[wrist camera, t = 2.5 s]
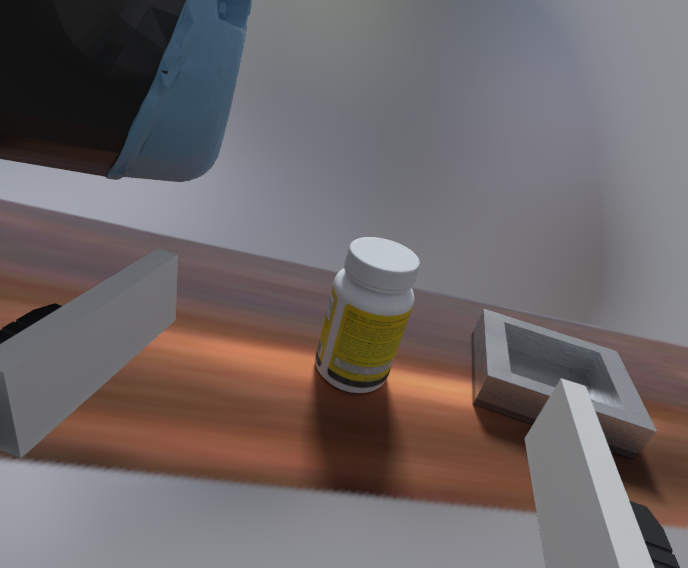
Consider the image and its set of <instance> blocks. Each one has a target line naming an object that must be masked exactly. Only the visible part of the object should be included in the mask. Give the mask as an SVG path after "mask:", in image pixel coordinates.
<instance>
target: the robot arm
mask: <svg viewBox="0 0 688 568" xmlns="http://www.w3.org/2000/svg"><path fill="white" fill-rule="evenodd" d="M251 5H252V0H0V159H5V160H11V161H16V162H22V163H28V164H35V165H40V166H46V167H52V168H58V169H64V170H70V171H76V172H81V173H87V174H94V175H99V176H105V177H106V178H108V179H115V180H117V179H121V178H122V177H131V178H142V179H153V180H163V181H174V182H184V181H190V180H192V179H195V178H198V177H200V176H202V175H204V174H205V173H206V172H207V171H208V170H209V169H211V167H212V166H213V165H214V163H215V161H216V159H217V157H218V154H219V152H220V148H221V145H222V141H223V138H224V133H225V129H226V125H227V121H228V117H229V113H230V108H231V104H232V100H233V94H234V89H235V86H236V81H237V76H238V72H239V67H240V62H241V57H242V52H243V46H244V42H245V36H246V30H247V20H248V16H249V15H250V10H251ZM177 269H178V255H177V254H174V253H171V252H168V251H165V250H161V249H156V250H154V251H153V252H151V253H149V254H148V255H146V256H144V257H143V258H141V259H140V260H138V261H136V262H135V263H133V264H131V265H130V266H128V267H126V268H125V269H123V270H121V271H120V272H118V273H117V274H115V275H113V276H112V277H110V278H108V279H107V280H105V281H103V282H102V283H100V284H98V285H97V286H95V287H93V288H92V289H90V290H89V291H87V292H85V293H84V294H82V295H80V296H79V297H77V298H75V299H74V300H72V301H70V302H69V303H67V304H66V305H64V306H61V305H58V304H55V303H54V304H51V305H48V306H44V307H41V308H38V309H35V310H32V311H31V312H29V313H27V314H25V315H24V316H22V317H20V318H18V319H17V320H16V322H12V323H10V324H8V325H6V326H5V327H3V328H2V330H0V450H1V451H4V452H6V453H9V454H12V455H14V456H17V457H19V458H22V457H23V456H24V455H25V454H26V453H27V452H29V451H30V450H31V449H32V448H33V447H34V446H35V445H36V444H38V443H39V442H40V441H41V440H42V439H43V438H44V437H45V436H46V435H48V434H49V433H50V432H51V431H52V430H53V429H54V428H55V427H57V426H58V425H59V424H60V423H61V422H62V421H63V420H64V419H65V418H67V417H68V416H69V415H70V414H71V413H72V412H73V411H74V410H76V409H77V408H78V407H79V406H80V405H81V404H82V403H83V402H84V401H86V400H87V399H88V398H89V397H90V396H91V395H92V394H93V393H95V392H96V391H97V390H98V389H99V388H100V387H101V386H102V385H103V384H105V383H106V382H107V381H108V380H109V379H110V378H111V377H112V376H114V375H115V374H116V373H117V372H118V371H119V370H120V369H121V368H122V367H124V366H125V365H126V364H127V363H128V362H129V361H130V360H131V359H133V358H134V357H135V356H136V355H137V354H138V353H139V352H140V351H141V350H143V349H144V348H145V347H146V346H147V345H148V344H149V343H150V342H152V341H153V340H154V339H155V338H156V337H157V336H158V335H159V334H160V333H162V332H163V331H164V330H165V329H166V328H167V327H168V326H169V325H171V324H172V323H173V322H174V321H175V318H176V293H177ZM525 444H526V450H527V456H528V462H529V468H530V474H531V481H532V487H533V493H534V499H535V505H536V511H537V517H538V523H539V530H540V536H541V542H542V548H543V554H544V560H545V566H546V568H680V567H679V565H678V562H677V560H676V557H675V555H673V554H672V551H673V550H672V548H671V546H670V543H669V541H668V539H667V536H666V534H665V532H664V529H663V528H662V526H661V525H660V524H659V522H658V521H657V520H656V518H655V517H654V516H653V515H652V513H651V512H650V511H649V509H648V508H647V507H646V506H643V505H640V504H637V503H634V502H631V501H629V499H628V497H627V494H626V491H625V489H624V486H623V483H622V481H621V478H620V475H619V473H618V470H617V467H616V465H615V462H614V460H613V457H612V454H611V452H610V449H609V446H608V444H607V441H606V438H605V436H604V433H603V431H602V428H601V425H600V423H599V420H598V417H597V415H596V412H595V409H594V407H593V404H592V401H591V399H590V396H589V394H588V391H587V388H586V386H584V385H580V384H577V383H574V382H571V381H568V380H565V379H562V378H561V379H560V381H559V382H558V384H557V386H556V387H555V389H554V391H553V392H552V394H551V396H550V397H549V399H548V401H547V402H546V404H545V406H544V407H543V409H542V411H541V412H540V414H539V416H538V417H537V419H536V421H535V422H534V424H533V426H532V427H531V429H530V431H529V432H528V434H527V436H526V437H525Z"/></svg>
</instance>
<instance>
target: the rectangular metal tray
mask: <svg viewBox="0 0 688 568" xmlns="http://www.w3.org/2000/svg"><path fill="white" fill-rule="evenodd" d="M561 378H562V379H565V380H568V381H571V382H574V383H577V384H580V385H584V386H586V388H587V391H588V394H589V396H590V399H591V401H592V404H593V407H594V409H595V412H596V415H597V417H598V420H599V423H600V425H601V428H602V431H603V433H604V436H605V438H606V441H607V444H608V446H609V449H610V451H611V452H614V453H617V454H620V455H623V456H625V457H628V458H631V459H634V458H635V457H636V456H637V455H638V453H639V452H640V451H641V450H642V449H643V448H644V446H645V445H646V444H647V443H648V442H649V440H650V439H651V438H652V437H653V436H654V435H655V433H656V432H657V431H656V429H655V427H654V425H653V423H652V421H651V419H650V417H649V415H648V413H647V411H646V409H645V407H644V405H643V403H642V401H641V399H640V397H639V395H638V393H637V391H636V389H635V387H634V385H633V383H632V381H631V379H630V377H629V375H628V373H627V371H626V369H625V367H624V365H623V363H622V361H621V359H620V357H619V355H618V353H617V351H614V350H611V349H608V348H605V347H602V346H599V345H595V344H592V343H589V342H586V341H583V340H580V339H577V338H574V337H570V336H567V335H564V334H561V333H558V332H555V331H552V330H549V329H545V328H542V327H539V326H536V325H533V324H530V323H527V322H523V321H520V320H517V319H514V318H511V317H508V316H505V315H502V314H498V313H495V312H492V311H489V310H486V309H483V311H482V313H481V316H480V318H479V320H478V322H477V324H476V326H475V328H474V331H473V333H472V382H473V404H474V405H476V406H479V407H482V408H485V409H488V410H491V411H494V412H497V413H500V414H503V415H506V416H509V417H512V418H514V419H517V420H520V421H523V422H526V423H529V424H532V425H533V424H534V422H535V421H536V419H537V417H538V416H539V414H540V412H541V411H542V409H543V407H544V406H545V404H546V402H547V401H548V399H549V397H550V396H551V394H552V392H553V391H554V389H555V387H556V386H557V384H558V382H559V381H560V379H561Z"/></svg>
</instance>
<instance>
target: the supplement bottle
mask: <svg viewBox="0 0 688 568" xmlns="http://www.w3.org/2000/svg"><path fill="white" fill-rule="evenodd" d="M419 265H420V262H419V259H418V257H417V256H416V255H415V253H413V252H412V251H411V250H410V249H408V248H406V247H405V246H403V245H401V244H398V243H396V242H393V241H390V240H386V239H382V238H375V237H365V238H359V239H356V240H354V241H353V242H352V243H351V244H350V246H349V250H348V253H347V257H346V259H345V265H344V269H342V270H341V271H340V272H339V273H338V274H337V275H336V277H335V279H334V282H333V286H332V290H331V294H330V299H329V303H328V307H327V311H326V315H325V319H324V323H323V327H322V332H321V336H320V340H319V344H318V348H317V353H316V358H315V362H316V367H317V369H318V371H319V373H320V374H321V376H322V377H323V378H324V379H325V380H326V381H328V382H329V383H330V384H332V385H333V386H335V387H336V388H339V389H341V390H343V391H347V392H351V393H367V392H371V391H374V390H376V389H378V388H379V387H381V386H382V385H383V384H384V383H385V381H386V379H387V377H388V375H389V372H390V369H391V366H392V363H393V361H394V358H395V355H396V352H397V349H398V346H399V344H400V341H401V338H402V335H403V333H404V330H405V327H406V324H407V322H408V319H409V316H410V313H411V311H412V308H413V304H414V293H413V290H412V287H413V284H414V283H415V281H416V276H417V272H418V269H419Z"/></svg>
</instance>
